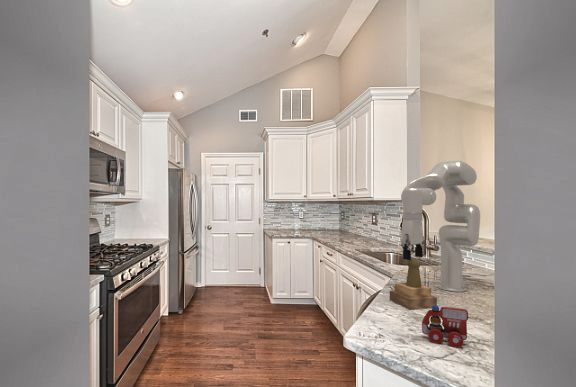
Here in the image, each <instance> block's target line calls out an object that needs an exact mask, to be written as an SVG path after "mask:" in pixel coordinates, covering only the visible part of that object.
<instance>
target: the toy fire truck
mask: <svg viewBox="0 0 576 387" xmlns="http://www.w3.org/2000/svg"><path fill="white" fill-rule="evenodd" d="M468 320H469V312H468V310H467V309H465V308H458V307H457V308H456V307H448V306H442V307H439V306H438V304H437V305H433V306H432V308H431V309H427V311H426V313H425V315H424V317H423V319H422V321H421V332H422V334H424V335H427V336H428V338H429V340H430V342H432V343H433V344H435V345H436V344H437V345H438V344H439V345H440V344H441V343H443V341H444V338H447V341H448V344H449V345H450V346H451V347H453V348H461V347H462V346H463V345H464V341H466V340H467V339H468V331H467V330H468V328H467V326H468V325H467V322H468Z"/></svg>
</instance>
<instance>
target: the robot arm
mask: <svg viewBox="0 0 576 387" xmlns="http://www.w3.org/2000/svg"><path fill="white" fill-rule="evenodd" d="M477 179H478V178H477V172H476V170H475V168H473V167H472V166H471V165H469V164H468V163H467V162H465V161H463V160H450V161H449V160H448V161H442V162H439V163H437V164H436V165H434V167H433V168H432V169H431V170H430V171H429V172H428V173H427V174H426V175H423V176H422V177H419V178H417V179H415V180H412V181H411V182H410V183H408V184H407V185H406V186H405V187H404V188H403V190H402V191H401V194H400V199H401V202H402V214H403V215H402V217H403V219H402V225H401V236H400V237H401V239H400V244H401V248H402V249H401V250H402V260H406V261H408V260H411V259H412V250H411V249H412V248H411V247H412V246H414V257H416V258H423V257H424V243H425V242H424V240H425V236H424V231H423V229H424V228H423V206H431V205H433V204H434V203H435V202H436V200H437V193H436V191H438V190H440V189H441V188H442V189H443V191H444V195H445V198H444V200H445V201H444V207H443V208H444V210H443V218H444V220H445V221H446V222H448V223H451V224H445V225H444V224H443V225H442V226H441V227H440V228H439V229H438V239H439V245H440V283H438V284H437V286H436V287H437V288H438V289H440V290H442V291H443V290H444V291H446V292H455V293H462V292H466V291H467V287H465V285H466V286H467V285H470V283H471V282H470V280H463V252H462V251H461V249H460V247H459V246H465V247H466V246H467V247H474V246H476V245H477V244H478V243H479V240H480V239H479V238H480V226H481V210H480V208H479V206H477V205H476V204H472V203H471V204H469V203H467V204H466V203H465V194H464V192H463V191H462V190H461V188H460V187H459V186H470V185H471V186H472V185H473V184H475V183H476V181H477ZM453 223H455V224H453ZM456 224H457V225H456ZM458 224H466V225H458Z"/></svg>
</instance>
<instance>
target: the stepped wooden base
mask: <svg viewBox="0 0 576 387" xmlns="http://www.w3.org/2000/svg"><path fill="white" fill-rule="evenodd" d="M421 286H422V287H419V288H414V287H409V286H406V282H394V290H389V301H390V302H392V303H395V304H396V305H399V306H400V307H402V308H405V309H407V310H409V311H412V310H423V309H432V306H433V305H437V306H438V297H436V296H434V295H432V288H431V287H430V286H426V285H424V284H421Z"/></svg>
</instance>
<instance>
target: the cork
mask: <svg viewBox="0 0 576 387" xmlns="http://www.w3.org/2000/svg"><path fill="white" fill-rule="evenodd" d="M406 265H407V268H408V269H407V275H406V281H405V283H406V286H409V287H414V288H419V287H422V286H421V285H422V280H421V272H420V267H421V261H420V260H419V259H417V258H411V260H406Z"/></svg>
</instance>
